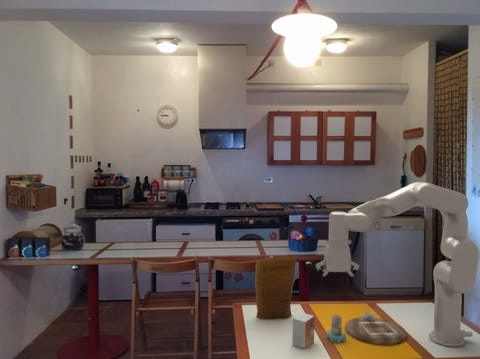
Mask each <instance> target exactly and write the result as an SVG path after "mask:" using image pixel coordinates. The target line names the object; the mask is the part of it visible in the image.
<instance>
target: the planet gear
mask: <svg viewBox="0 0 480 359" xmlns="http://www.w3.org/2000/svg"><path fill="white" fill-rule="evenodd" d="M330 321H331V325H330V330H327V333H326V336H325V337H326V338H325V339H326V340H328V341H329V342H331V343H333V342H334V343H337V344H340V343H345V342H346V340H347V332H343V331H342V328H343V327H342V322H343V317H342V316H341V315H340V314H332V315H331V319H330Z"/></svg>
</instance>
